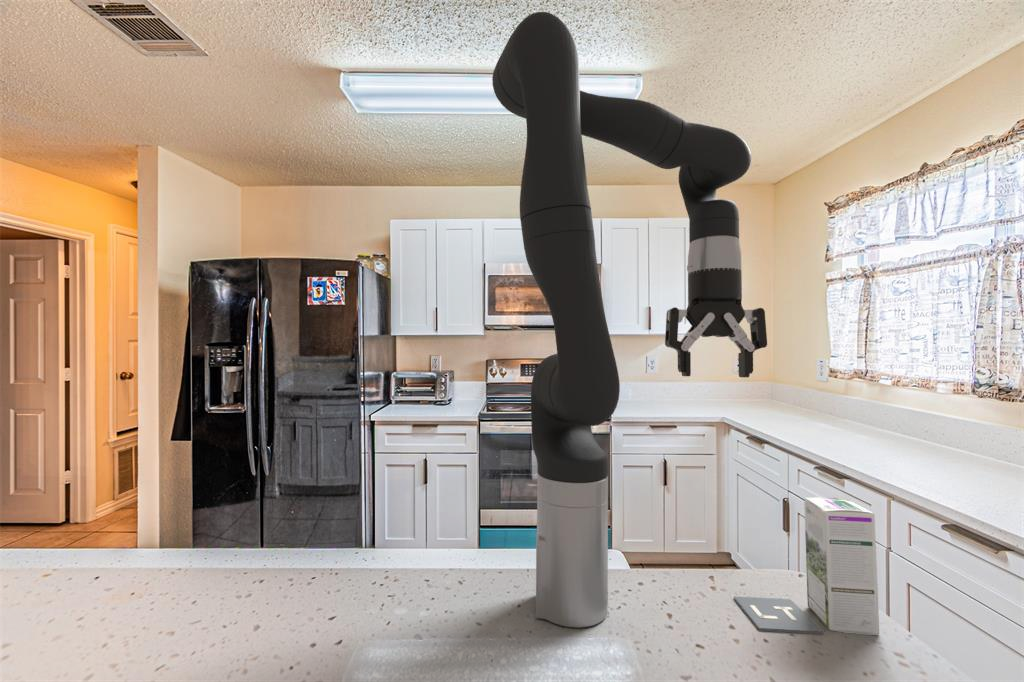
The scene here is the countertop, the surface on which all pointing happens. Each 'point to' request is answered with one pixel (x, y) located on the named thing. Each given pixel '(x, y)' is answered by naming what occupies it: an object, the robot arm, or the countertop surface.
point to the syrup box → (841, 565)
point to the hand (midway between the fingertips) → (715, 376)
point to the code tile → (777, 615)
